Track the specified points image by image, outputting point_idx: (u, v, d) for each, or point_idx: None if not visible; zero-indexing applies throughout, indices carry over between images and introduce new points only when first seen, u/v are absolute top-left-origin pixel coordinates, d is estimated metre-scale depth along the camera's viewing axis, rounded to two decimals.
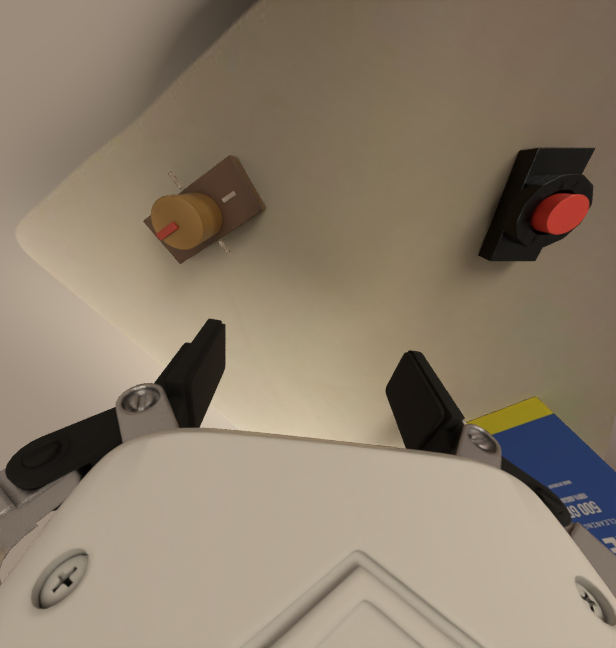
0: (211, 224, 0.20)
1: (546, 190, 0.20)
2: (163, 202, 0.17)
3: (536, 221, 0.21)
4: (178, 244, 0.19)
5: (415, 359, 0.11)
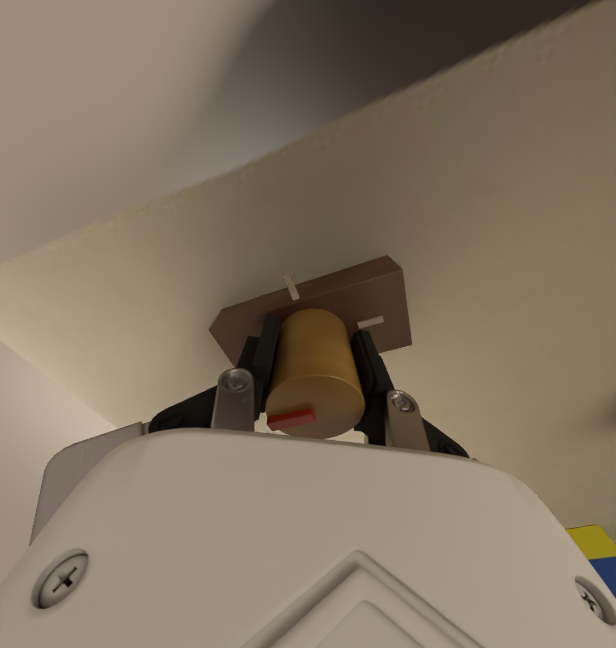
0: None
1: None
2: (307, 382, 0.08)
3: None
4: (300, 433, 0.10)
5: (361, 337, 0.12)
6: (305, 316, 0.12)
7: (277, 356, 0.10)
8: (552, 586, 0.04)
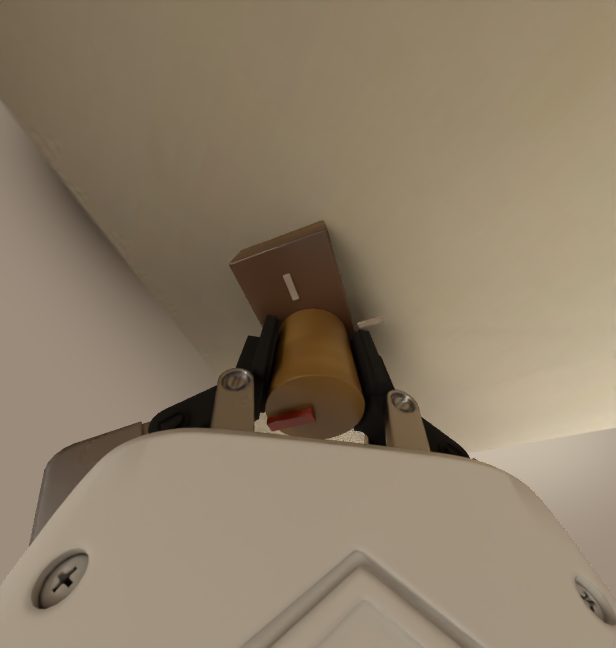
0: None
1: None
2: (307, 382, 0.08)
3: None
4: (300, 433, 0.10)
5: (361, 337, 0.12)
6: (305, 316, 0.12)
7: (277, 356, 0.10)
8: (552, 586, 0.04)
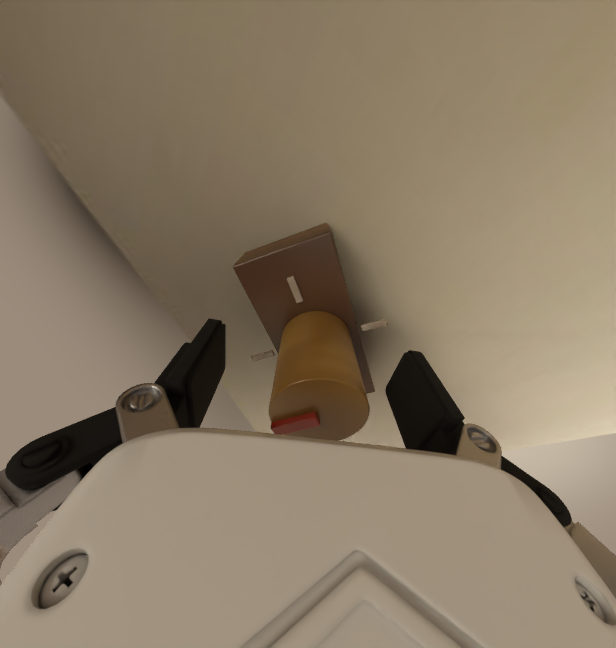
0: None
1: None
2: (310, 386, 0.08)
3: None
4: None
5: (415, 359, 0.11)
6: (307, 319, 0.12)
7: (280, 360, 0.10)
8: (552, 586, 0.04)
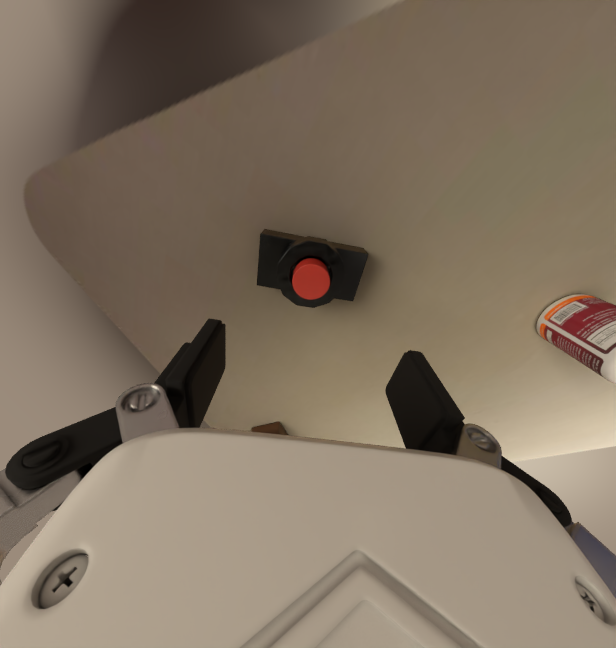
0: None
1: (288, 290, 0.21)
2: None
3: None
4: None
5: (415, 359, 0.11)
6: None
7: None
8: (552, 586, 0.04)
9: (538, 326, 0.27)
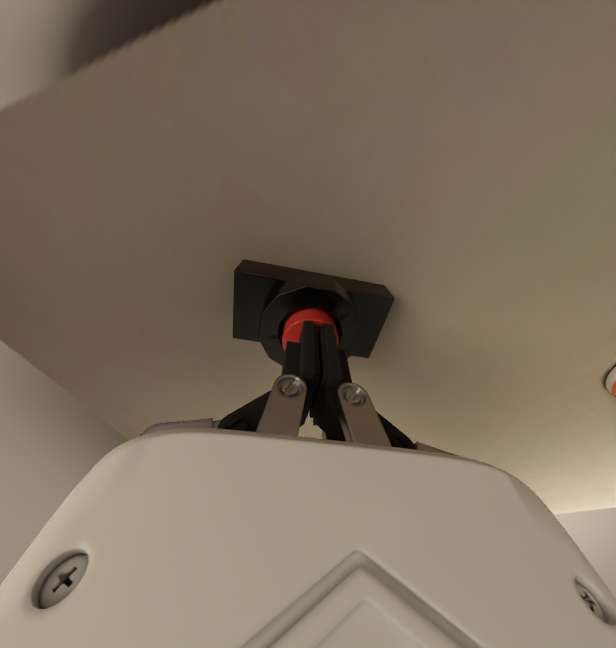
0: None
1: (276, 352, 0.14)
2: None
3: None
4: None
5: (324, 330, 0.11)
6: None
7: None
8: (552, 586, 0.04)
9: (610, 382, 0.21)
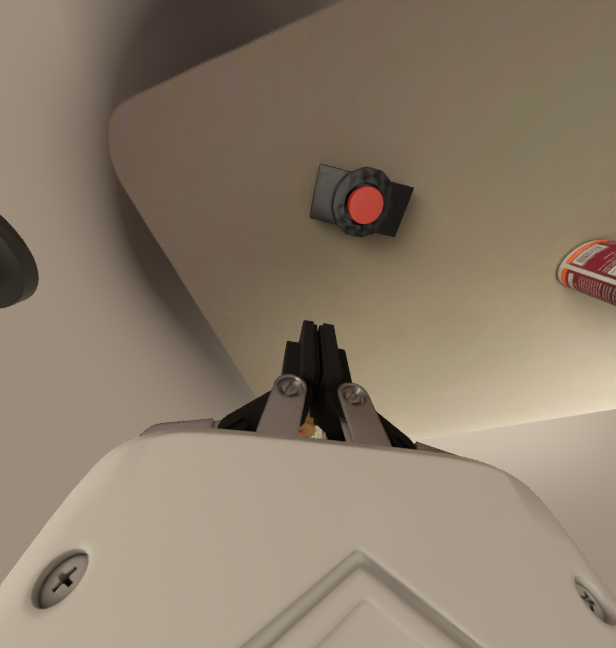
0: None
1: (341, 218, 0.24)
2: None
3: None
4: (299, 436, 0.38)
5: (324, 330, 0.11)
6: None
7: None
8: (552, 586, 0.04)
9: (560, 272, 0.30)
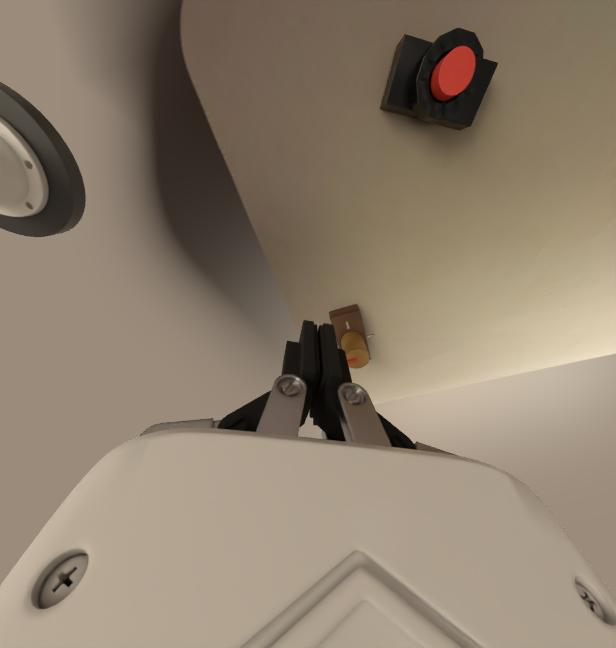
0: None
1: (423, 95, 0.23)
2: (356, 351, 0.36)
3: (449, 98, 0.23)
4: (352, 366, 0.37)
5: (324, 330, 0.11)
6: (351, 334, 0.39)
7: (345, 345, 0.38)
8: (552, 586, 0.04)
9: None
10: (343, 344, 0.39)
